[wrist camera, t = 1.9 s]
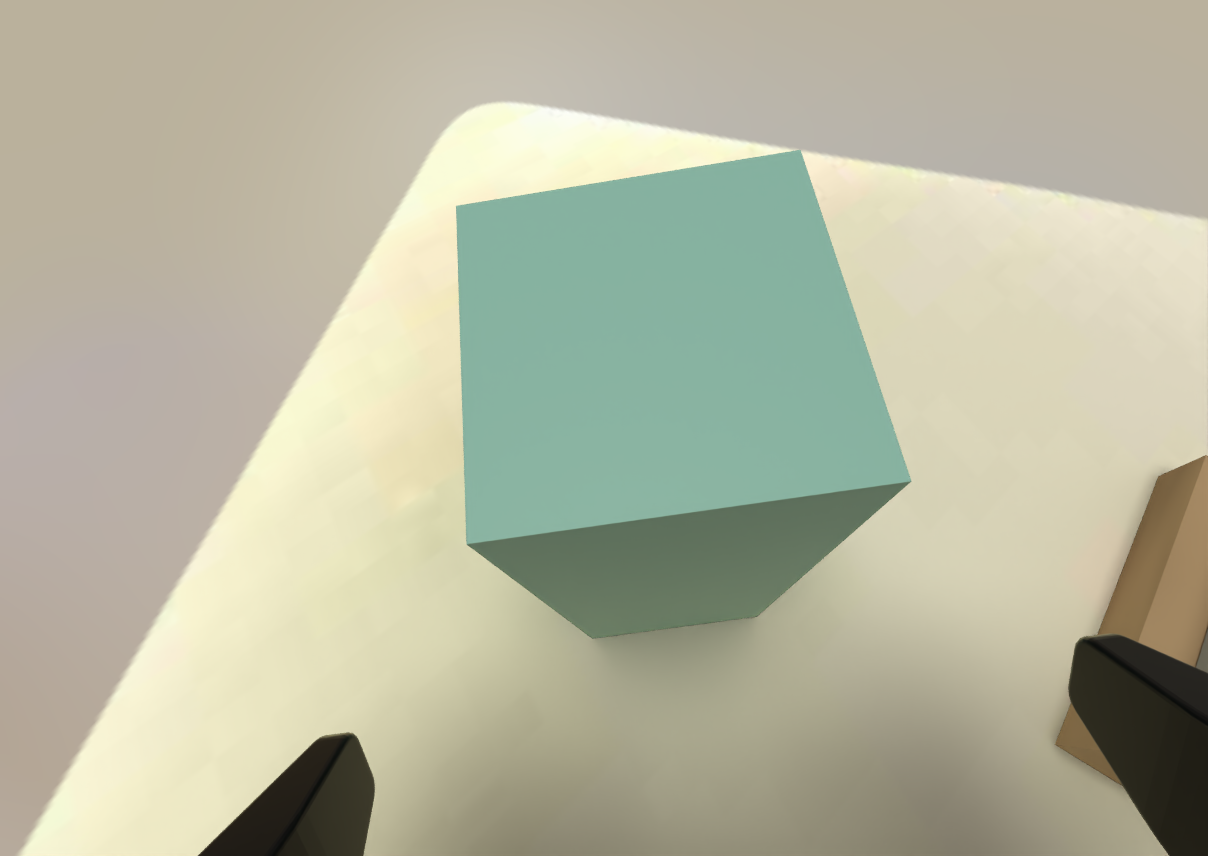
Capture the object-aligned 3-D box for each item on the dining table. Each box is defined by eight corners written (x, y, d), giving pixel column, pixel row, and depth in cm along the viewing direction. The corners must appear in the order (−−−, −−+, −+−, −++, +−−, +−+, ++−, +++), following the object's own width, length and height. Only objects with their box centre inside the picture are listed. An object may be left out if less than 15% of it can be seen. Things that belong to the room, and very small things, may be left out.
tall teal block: (756, 616, 19) (911, 481, 7) (592, 638, 19) (466, 544, 7) (724, 461, 21) (800, 149, 9) (576, 483, 21) (456, 205, 9)
